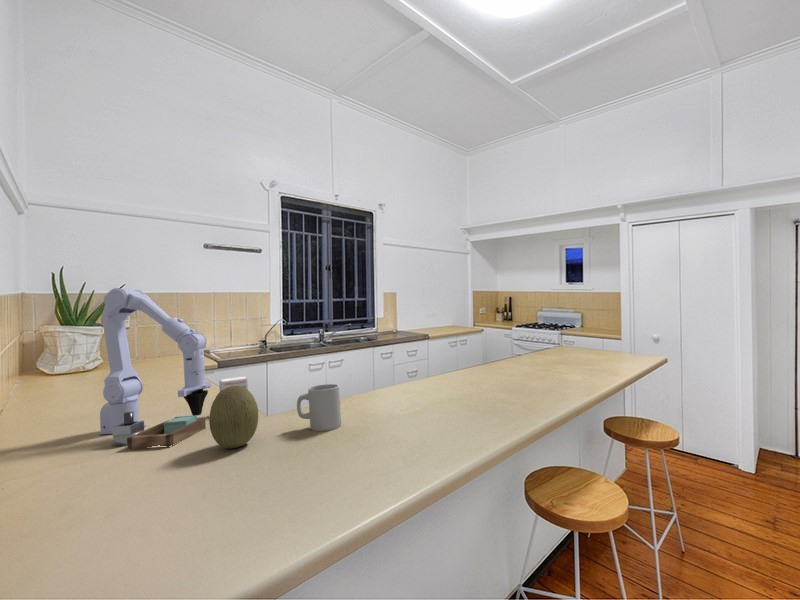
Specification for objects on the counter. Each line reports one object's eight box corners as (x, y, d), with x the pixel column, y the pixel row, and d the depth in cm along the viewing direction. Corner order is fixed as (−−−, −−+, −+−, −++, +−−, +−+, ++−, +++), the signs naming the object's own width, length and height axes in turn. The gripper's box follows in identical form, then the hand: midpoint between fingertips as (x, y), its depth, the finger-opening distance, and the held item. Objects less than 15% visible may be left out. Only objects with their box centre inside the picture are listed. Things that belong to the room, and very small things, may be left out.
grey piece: (106, 447, 99) (105, 428, 99) (126, 438, 106) (126, 420, 106) (131, 445, 99) (131, 426, 99) (150, 437, 106) (149, 419, 106)
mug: (343, 421, 108) (341, 383, 108) (339, 430, 99) (336, 388, 100) (302, 424, 108) (299, 386, 108) (294, 433, 99) (291, 392, 100)
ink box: (222, 416, 124) (220, 381, 125) (220, 413, 128) (218, 379, 129) (249, 411, 129) (247, 377, 130) (246, 408, 133) (244, 375, 134)
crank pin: (122, 434, 102) (121, 413, 102) (128, 431, 104) (128, 411, 104) (129, 433, 101) (128, 413, 102) (136, 431, 104) (135, 411, 104)
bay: (127, 449, 96) (127, 437, 96) (168, 430, 112) (168, 420, 112) (170, 447, 95) (170, 435, 95) (205, 428, 111) (205, 417, 111)
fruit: (212, 444, 95) (209, 385, 96) (259, 435, 100) (255, 379, 100) (208, 458, 85) (205, 392, 85) (261, 448, 89) (257, 385, 90)
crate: (164, 437, 105) (163, 422, 105) (175, 430, 111) (175, 416, 112) (186, 435, 106) (185, 420, 106) (197, 428, 112) (196, 415, 112)
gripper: (193, 374, 110) (195, 420, 109) (219, 367, 124) (221, 408, 124) (170, 376, 110) (172, 422, 109) (198, 369, 124) (200, 409, 124)
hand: (196, 415), depth 117 cm, fingers closed
